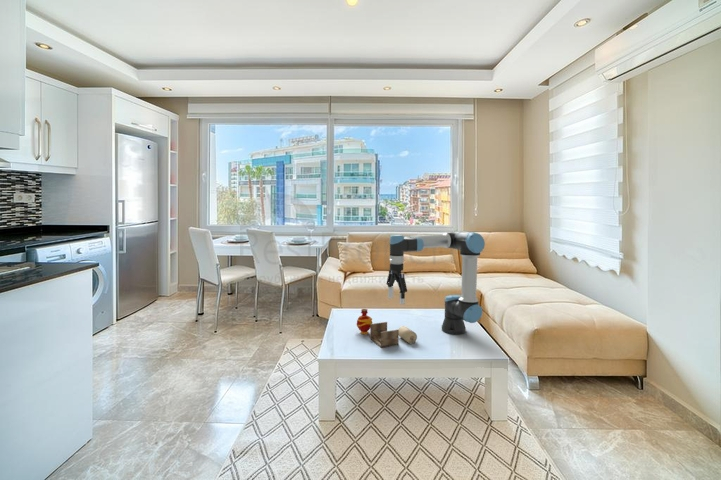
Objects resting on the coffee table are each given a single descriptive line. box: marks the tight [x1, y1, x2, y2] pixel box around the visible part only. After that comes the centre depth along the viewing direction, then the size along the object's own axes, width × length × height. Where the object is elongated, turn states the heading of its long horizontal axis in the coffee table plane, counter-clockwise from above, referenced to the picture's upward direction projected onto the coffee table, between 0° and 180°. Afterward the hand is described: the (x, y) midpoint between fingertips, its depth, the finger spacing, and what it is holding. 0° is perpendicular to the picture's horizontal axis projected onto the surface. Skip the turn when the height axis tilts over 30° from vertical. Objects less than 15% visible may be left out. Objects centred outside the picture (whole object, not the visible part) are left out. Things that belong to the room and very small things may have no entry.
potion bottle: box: [356, 308, 374, 335], centre depth 220 cm, size 10×10×15 cm
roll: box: [397, 325, 418, 344], centre depth 208 cm, size 7×12×7 cm, turn 22°
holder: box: [369, 321, 400, 349], centre depth 205 cm, size 11×16×9 cm
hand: (396, 301), depth 191 cm, fingers open, 13 cm apart
